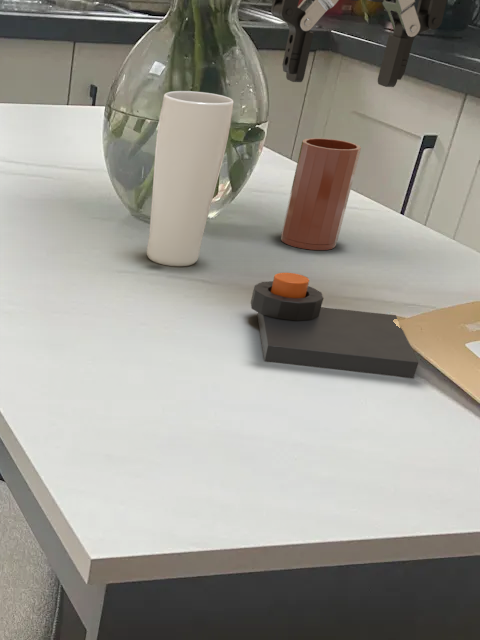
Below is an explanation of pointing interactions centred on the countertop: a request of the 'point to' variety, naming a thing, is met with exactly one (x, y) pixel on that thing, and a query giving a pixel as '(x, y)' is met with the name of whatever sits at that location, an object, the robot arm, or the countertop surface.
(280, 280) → the button
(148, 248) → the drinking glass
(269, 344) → the scale
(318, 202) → the cup
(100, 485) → the countertop surface
